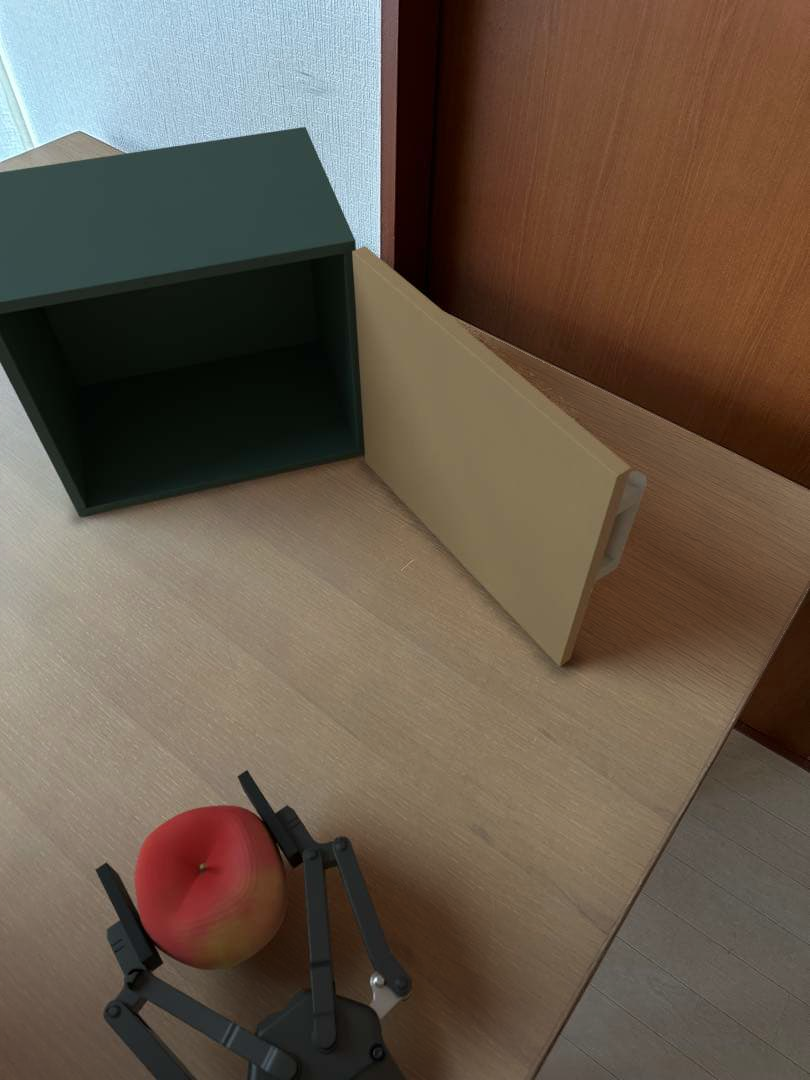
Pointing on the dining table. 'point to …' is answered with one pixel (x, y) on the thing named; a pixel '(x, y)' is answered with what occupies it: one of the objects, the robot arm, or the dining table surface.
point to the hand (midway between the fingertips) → (178, 824)
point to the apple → (211, 886)
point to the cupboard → (181, 317)
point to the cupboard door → (488, 460)
